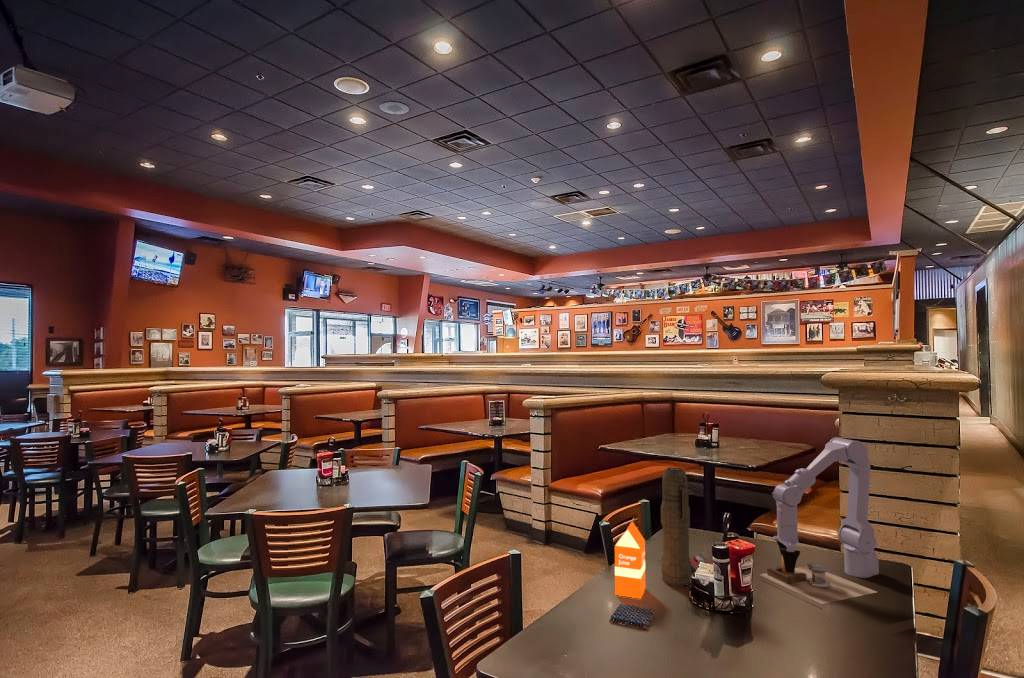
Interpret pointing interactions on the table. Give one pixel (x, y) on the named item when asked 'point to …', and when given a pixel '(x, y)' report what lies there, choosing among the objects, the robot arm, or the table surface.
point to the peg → (784, 568)
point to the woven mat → (633, 616)
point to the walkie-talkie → (696, 562)
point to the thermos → (675, 528)
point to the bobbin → (818, 575)
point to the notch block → (788, 579)
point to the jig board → (835, 592)
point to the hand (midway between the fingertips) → (788, 567)
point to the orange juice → (630, 564)
